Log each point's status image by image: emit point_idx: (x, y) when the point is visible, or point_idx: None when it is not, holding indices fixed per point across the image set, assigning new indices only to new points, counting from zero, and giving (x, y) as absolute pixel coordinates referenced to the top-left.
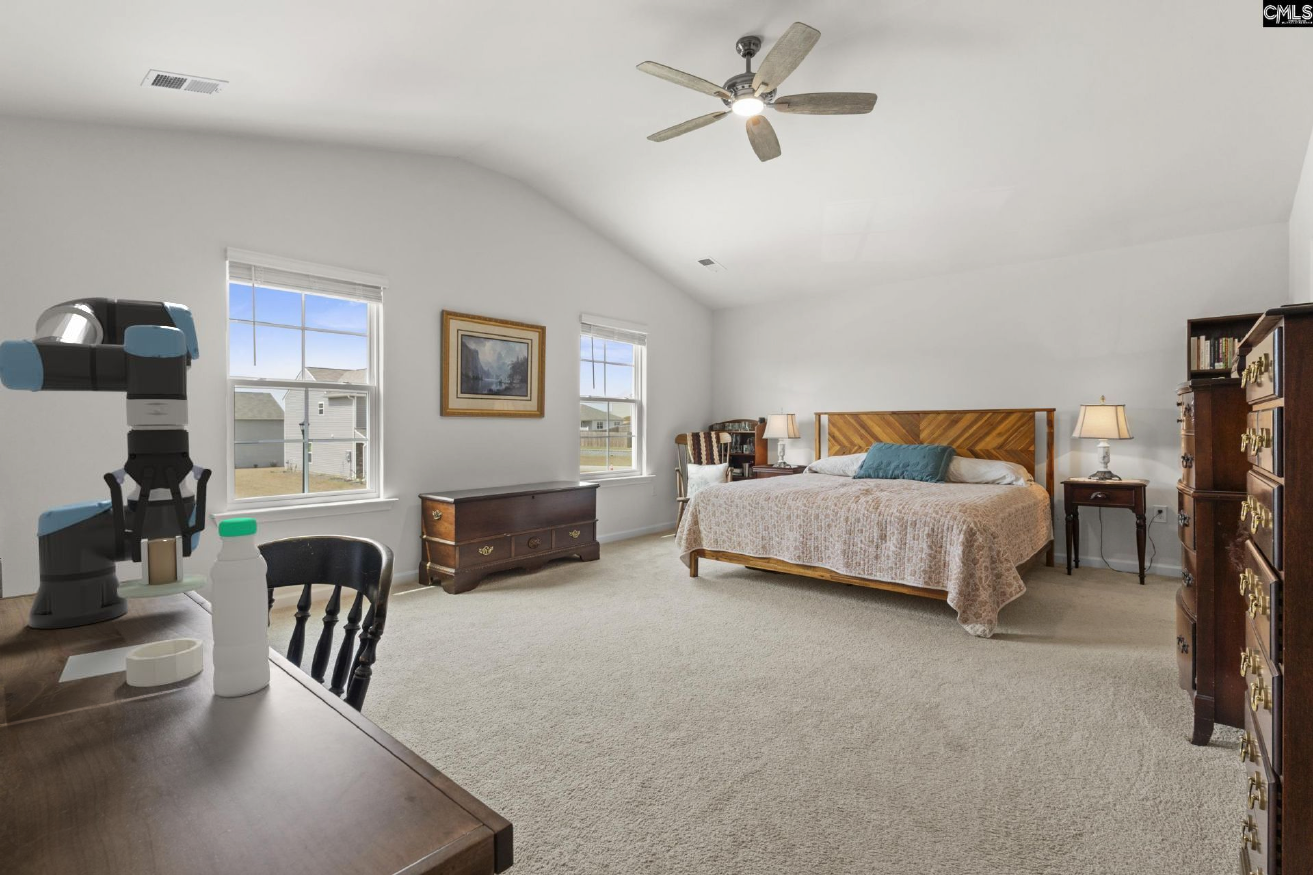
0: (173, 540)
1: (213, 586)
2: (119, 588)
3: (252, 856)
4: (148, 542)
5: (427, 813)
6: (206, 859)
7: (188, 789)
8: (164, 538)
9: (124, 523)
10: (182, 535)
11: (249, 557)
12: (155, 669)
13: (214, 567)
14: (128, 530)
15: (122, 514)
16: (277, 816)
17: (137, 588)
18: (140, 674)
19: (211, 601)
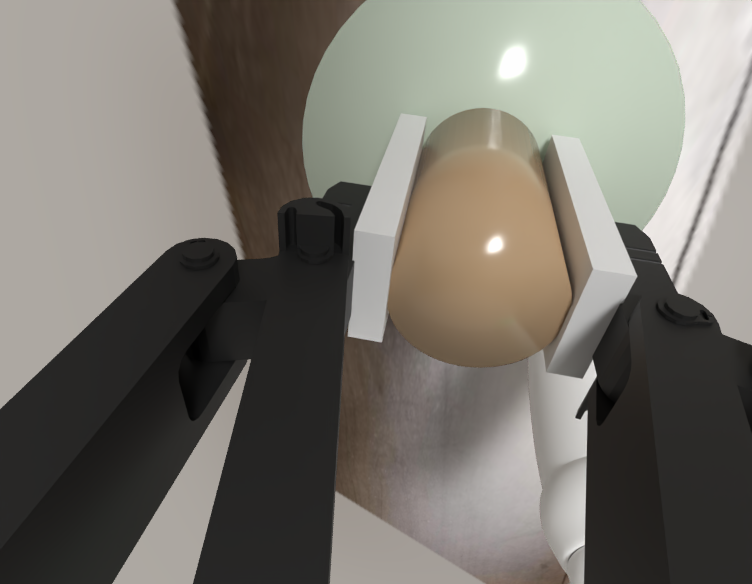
0: (533, 350)
1: (540, 478)
2: (312, 160)
3: (432, 544)
4: (392, 317)
5: (539, 578)
6: (408, 532)
7: (416, 467)
8: (513, 237)
9: (206, 427)
10: (579, 412)
11: None
12: None
13: (548, 542)
14: (247, 316)
15: (155, 502)
16: (460, 529)
17: None
18: None
19: (534, 428)
